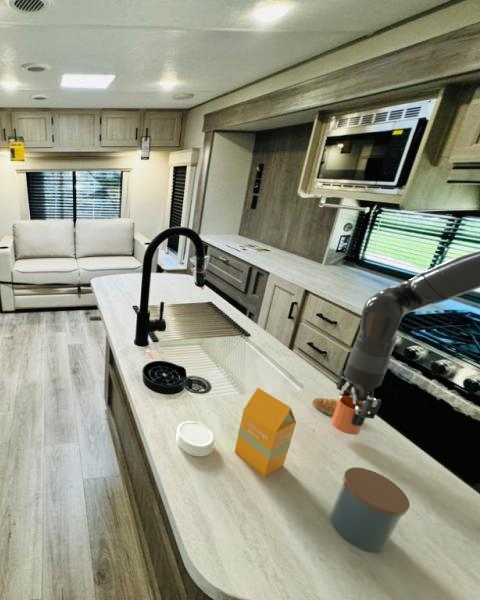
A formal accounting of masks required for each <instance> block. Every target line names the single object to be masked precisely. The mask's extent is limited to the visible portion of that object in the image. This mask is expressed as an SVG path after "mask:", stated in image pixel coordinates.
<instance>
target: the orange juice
mask: <svg viewBox="0 0 480 600" xmlns="http://www.w3.org/2000/svg"><path fill="white" fill-rule="evenodd" d="M296 424H297V421H296V418H295V416H294V412H293V410H292V407H291V406H289V405H287V404H286V403H284V402H282V401H281V400H279V399H277V398H276V397H275V396H272V395H271V394H269V393H268V392H266V391H265V390H263V389H261V388H260V387H257V388H256V390H255V391H254V393H253V394H252V395H251V397H250V399H249V401H248V402H247V404H246V405H245V406H244V408H243V410H242V414H241V420H240V425H239V428H238V432H237V439H236V443H235V448H234V453H236V454H237V455H238V456H239V457H240V459H242V460H244V462H246V463H247V464H248V465H249V466H251V467H252V468H253V469H254V470H255V471H256V472H257V473H258V474H260V475H261V476H262V477H263V478H265V477H267V476H268V475H270V474H272V473H273V472H276V471H277V470H278V469H280V468H283V467H284V464H285V462H286V458H287V455H288V451H289V449H290V446H291V442H292V438H293V434H294V432H295V429H296Z"/></svg>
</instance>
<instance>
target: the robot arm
mask: <svg viewBox="0 0 480 600" xmlns="http://www.w3.org/2000/svg"><path fill="white" fill-rule="evenodd" d="M478 289H480V250H479V251H475V252H472V253H468V254H464V255H461V256H459V257H456V258H453V259H450V260H448V261H446V262H443V263H441V264H439V265H437V266H435V267H432V268H429V269H428V270H426V271H424V272H422V273H420V274H418V275H416V276H414V277H413V278H411V279H408V280H405V281H402V282H400V283H397V284H395V285H393V286H390V287H388V288H385V289H383V290H381V291H378V292H377V293H375V294H373V295H372V296H371V297H370V298H368V299H367V300H366V302H365V303H364V306H363V308H362V311H361V316H360V323H359V324H360V325H359V326H360V327H359V331H358V333H357V336H356V339H355V342H354V345H353V347H352V349H351V350H350V353H349V355H348V358H347V362H346V366H345V369H344V370H340V372H339V376H338V380H337V383H336V389H337V390H338V391H339V392H338V393H339V397H340V396H351V397H353V404H354V405H355V413H354V415H353V418H352V421H351V423H352V424H353V425H355V426H362V425H363V426H364V424H365V421H366V419H373V420H374V419H375V417H376V415H377V413H378V411H379V409H380V407H381V405H382V401H381V399H376V398H375V397H374V390H375V389H377V388H379V387H380V386H381V385H382V384H383V381H384V378H385V375H386V373H387V371H388V368H389V365H390V362H391V356H392V352H393V351H394V348H395V345H396V343H397V339H398V338H397V337H398V336H397V331H398V328H399V326H400V323H401V321H402V319H403V317H404V316H405V315H407V314H409V313H412V312H413V311H416V310H418V309H422V308H424V307H426V306H428V305H436V304H439V303H443V302H446V301H449V300H452V299H454V298H457V297H459V296H462V295H465V294H468V293H470V292H473V291H475V290H478ZM343 384H344V385H343ZM358 400H360V401H363V402H365V403H360V402H358ZM360 406H363V408H362V410H360ZM365 418H366V419H365ZM364 420H365V421H364ZM363 423H364V424H363Z"/></svg>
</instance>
